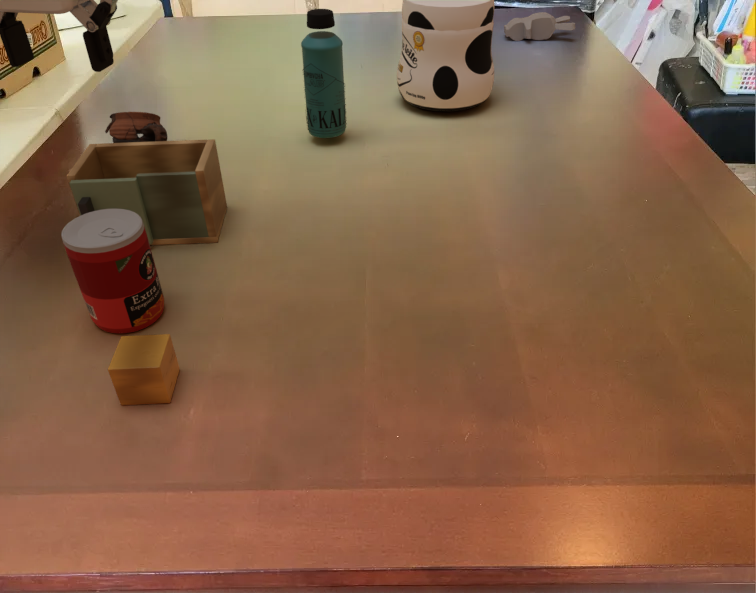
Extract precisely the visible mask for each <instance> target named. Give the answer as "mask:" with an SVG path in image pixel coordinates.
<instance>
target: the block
mask: <svg viewBox="0 0 756 593" xmlns="http://www.w3.org/2000/svg"><path fill="white" fill-rule="evenodd" d="M180 370H181V369H180V365H179V361H178V358H177V354H176V350H175V348H174V344H173V340H172V337H171V334H170V333H163V334H160V333H159V334H140V335H139V334H137V335H121V336H120V338H119V341H118V343H117V346H116V348H115V350H114V353H113V356H112V358H111V361H110V363H109V364H108V368H107V371H108V375H109V377H110V379H111V382H112V386H113V388H114V391H115V394H116V396H117V399H118V401H119V404H120V406H133V405H155V404H156V405H157V404H170V403H171V401H172V398H173V394H174V391H175V387H176V383H177V380H178V377H179V374H180V373H179V372H180Z"/></svg>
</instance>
